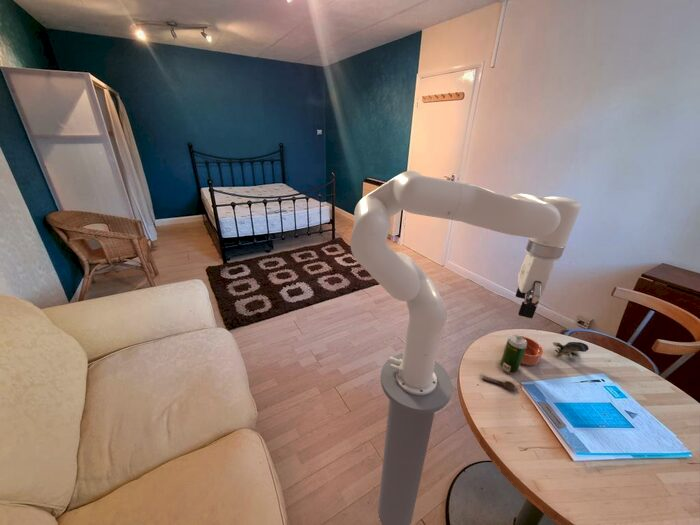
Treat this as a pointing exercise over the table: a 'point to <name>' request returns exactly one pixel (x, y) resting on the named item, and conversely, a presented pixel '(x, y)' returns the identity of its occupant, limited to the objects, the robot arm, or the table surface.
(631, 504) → the table surface
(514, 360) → the beer can
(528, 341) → the bowl
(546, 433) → the table surface
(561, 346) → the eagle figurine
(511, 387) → the spoon
